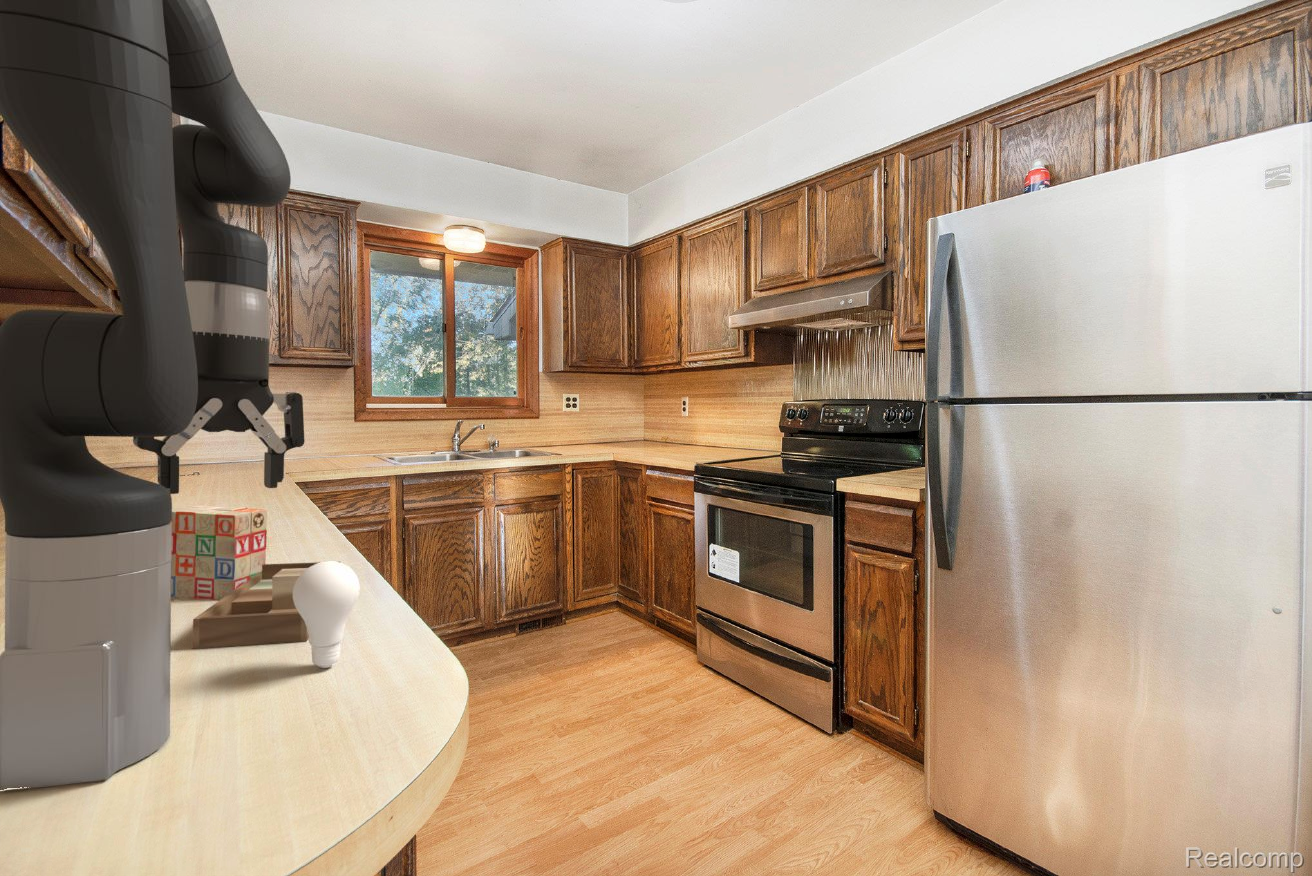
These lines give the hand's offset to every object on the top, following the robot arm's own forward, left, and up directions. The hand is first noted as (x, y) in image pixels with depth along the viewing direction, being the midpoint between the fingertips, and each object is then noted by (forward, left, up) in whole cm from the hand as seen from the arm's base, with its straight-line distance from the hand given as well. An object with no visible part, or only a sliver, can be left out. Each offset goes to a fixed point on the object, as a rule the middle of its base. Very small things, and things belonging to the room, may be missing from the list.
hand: (224, 489), depth 64 cm
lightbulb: (-4, -10, -18) cm, 21 cm away
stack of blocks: (+31, +16, -19) cm, 40 cm away
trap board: (+16, -1, -18) cm, 24 cm away
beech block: (+12, -4, -16) cm, 20 cm away
